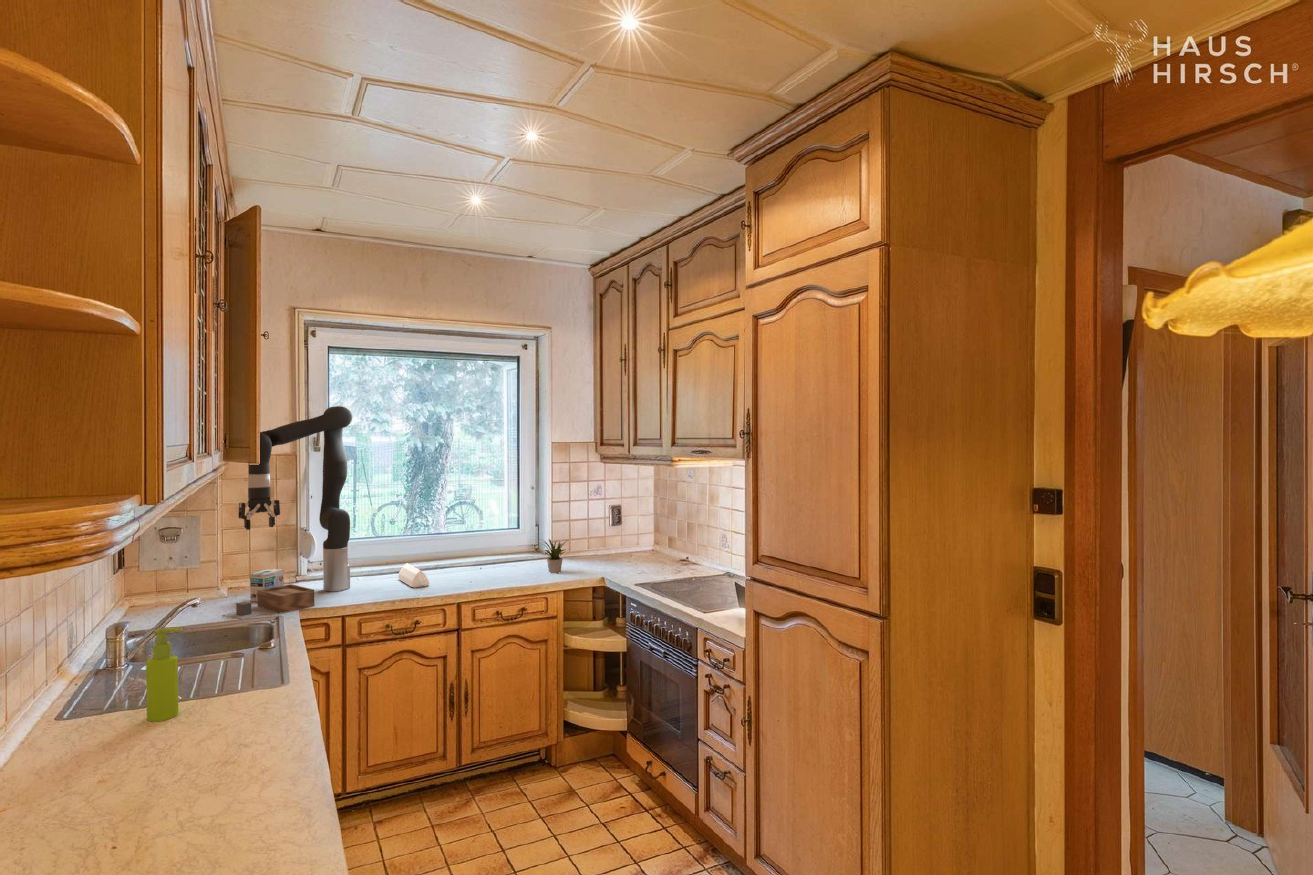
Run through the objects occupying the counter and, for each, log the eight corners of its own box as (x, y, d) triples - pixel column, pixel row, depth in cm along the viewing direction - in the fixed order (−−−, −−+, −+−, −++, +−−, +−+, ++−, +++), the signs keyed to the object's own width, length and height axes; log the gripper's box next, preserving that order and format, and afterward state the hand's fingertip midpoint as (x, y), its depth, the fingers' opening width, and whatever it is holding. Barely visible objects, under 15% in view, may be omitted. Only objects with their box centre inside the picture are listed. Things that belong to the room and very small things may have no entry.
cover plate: (244, 611, 256) (244, 598, 256) (265, 615, 251) (265, 602, 251) (222, 617, 249) (222, 603, 249) (243, 621, 244) (243, 607, 244)
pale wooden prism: (435, 577, 295) (418, 568, 315) (420, 570, 291) (403, 561, 311) (426, 593, 293) (409, 583, 313) (411, 586, 289) (395, 577, 309)
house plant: (530, 574, 318) (530, 538, 317) (544, 568, 331) (544, 533, 331) (559, 576, 313) (559, 539, 313) (572, 570, 327) (572, 535, 326)
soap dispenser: (178, 719, 159) (177, 630, 159) (142, 723, 157) (141, 633, 157) (187, 709, 164) (186, 624, 164) (153, 712, 163) (151, 626, 162)
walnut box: (291, 599, 272) (291, 584, 272) (314, 605, 262) (314, 589, 262) (257, 606, 262) (257, 590, 262) (280, 612, 252) (280, 596, 252)
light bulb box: (264, 602, 268) (264, 574, 268) (249, 601, 270) (249, 573, 269) (284, 595, 279) (284, 568, 279) (270, 595, 280) (269, 568, 280)
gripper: (273, 484, 277) (273, 525, 277) (234, 486, 265) (235, 529, 265) (283, 485, 272) (283, 526, 272) (244, 487, 261) (244, 531, 261)
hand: (259, 528), depth 269 cm, fingers open, 8 cm apart
